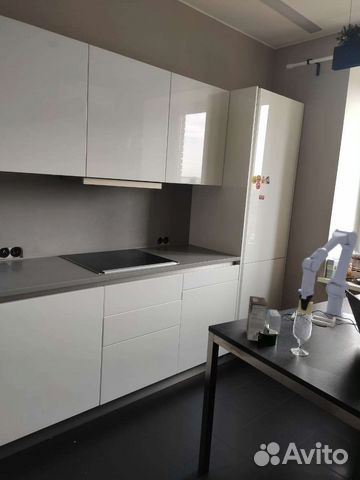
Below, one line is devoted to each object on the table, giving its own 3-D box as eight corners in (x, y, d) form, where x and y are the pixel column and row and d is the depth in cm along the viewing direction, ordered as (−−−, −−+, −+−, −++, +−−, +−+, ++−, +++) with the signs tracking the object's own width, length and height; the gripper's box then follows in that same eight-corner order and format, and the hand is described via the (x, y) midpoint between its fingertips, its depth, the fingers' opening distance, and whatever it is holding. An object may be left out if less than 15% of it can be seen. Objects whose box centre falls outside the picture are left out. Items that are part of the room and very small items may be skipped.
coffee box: (245, 330, 157) (249, 295, 154) (260, 332, 157) (264, 297, 154) (247, 339, 148) (251, 302, 145) (262, 341, 148) (267, 304, 145)
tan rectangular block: (298, 310, 180) (300, 299, 179) (311, 313, 177) (312, 302, 176) (297, 312, 177) (299, 301, 176) (310, 315, 175) (311, 303, 174)
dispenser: (312, 317, 179) (313, 311, 178) (335, 322, 174) (336, 317, 173) (309, 321, 173) (310, 315, 173) (333, 327, 168) (334, 321, 167)
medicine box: (279, 335, 155) (281, 316, 153) (269, 334, 155) (271, 315, 153) (274, 327, 162) (277, 309, 161) (265, 327, 163) (267, 309, 161)
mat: (294, 312, 184) (294, 311, 184) (312, 316, 180) (313, 316, 180) (290, 317, 176) (290, 317, 176) (309, 322, 172) (309, 321, 172)
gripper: (302, 277, 183) (299, 303, 185) (296, 284, 170) (292, 311, 173) (317, 280, 179) (313, 306, 182) (312, 287, 167) (308, 314, 169)
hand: (304, 308), depth 177 cm, fingers closed on tan rectangular block, 3 cm apart
